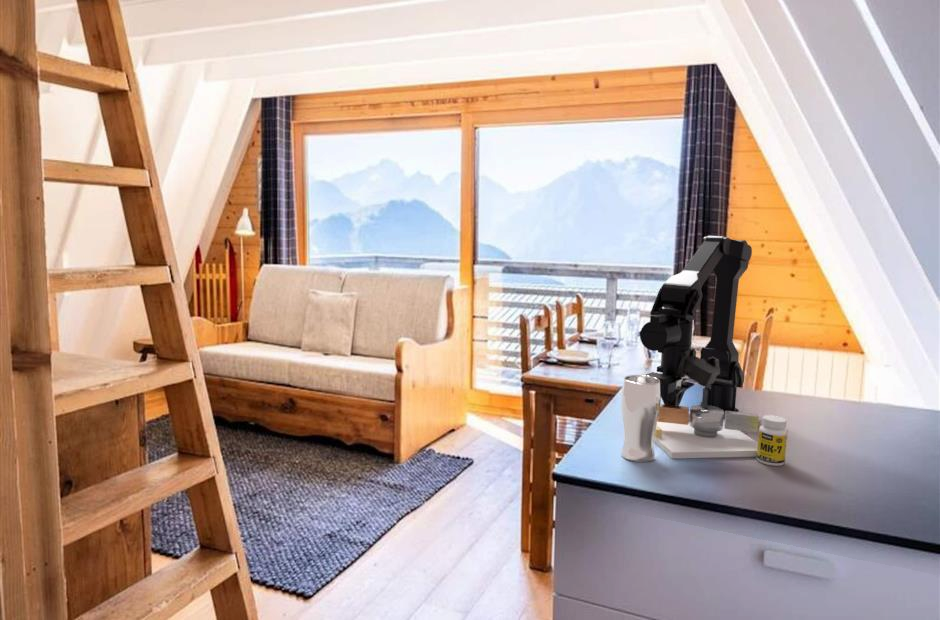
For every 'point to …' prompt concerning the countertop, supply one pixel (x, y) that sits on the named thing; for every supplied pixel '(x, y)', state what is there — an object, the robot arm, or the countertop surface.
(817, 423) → the countertop surface
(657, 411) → the beer glass
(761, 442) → the supplement bottle
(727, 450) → the coupling board
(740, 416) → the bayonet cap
